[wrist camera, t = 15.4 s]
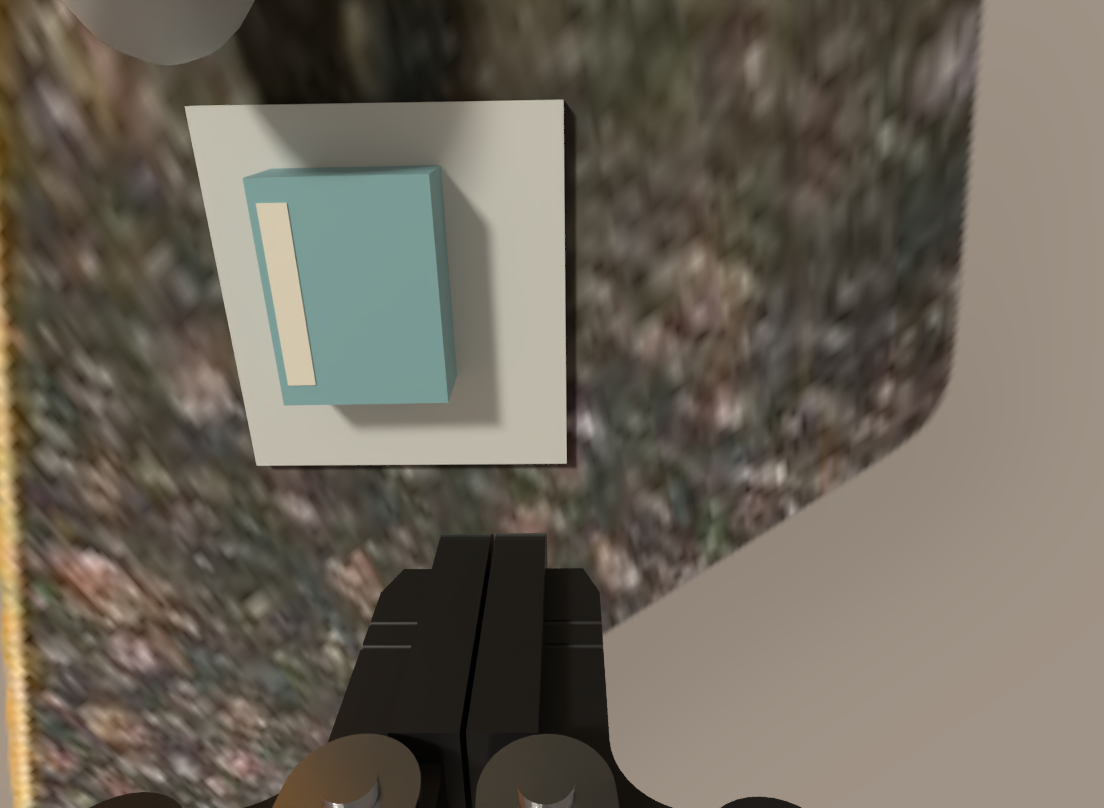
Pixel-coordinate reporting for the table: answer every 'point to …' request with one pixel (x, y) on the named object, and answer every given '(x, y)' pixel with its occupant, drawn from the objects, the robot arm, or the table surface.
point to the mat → (473, 260)
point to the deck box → (355, 282)
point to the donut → (162, 26)
